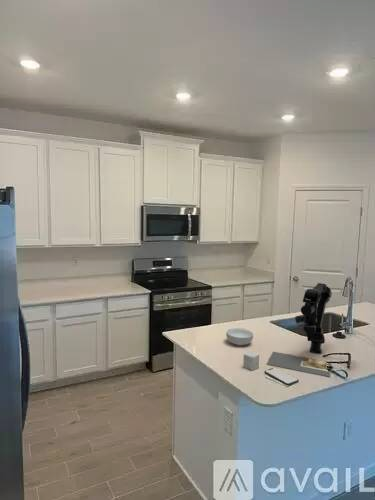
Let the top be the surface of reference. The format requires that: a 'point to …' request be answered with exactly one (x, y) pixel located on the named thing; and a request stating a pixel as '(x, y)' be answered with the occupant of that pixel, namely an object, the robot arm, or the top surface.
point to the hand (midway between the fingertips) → (309, 338)
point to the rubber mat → (295, 364)
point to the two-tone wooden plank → (314, 363)
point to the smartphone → (281, 376)
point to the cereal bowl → (239, 336)
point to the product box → (251, 360)
